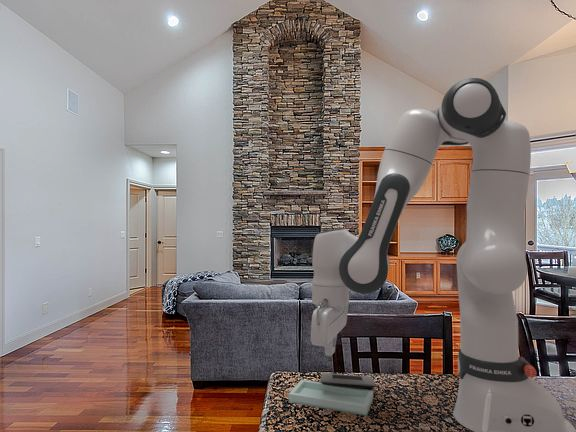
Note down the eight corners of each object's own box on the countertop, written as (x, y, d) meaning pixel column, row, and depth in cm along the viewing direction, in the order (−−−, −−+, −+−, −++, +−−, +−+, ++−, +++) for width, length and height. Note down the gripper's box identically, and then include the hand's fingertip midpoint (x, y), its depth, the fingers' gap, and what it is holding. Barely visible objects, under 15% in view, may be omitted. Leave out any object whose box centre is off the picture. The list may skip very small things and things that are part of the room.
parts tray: (373, 398, 94) (373, 390, 94) (366, 416, 86) (366, 406, 86) (301, 387, 101) (301, 379, 101) (288, 402, 92) (288, 393, 92)
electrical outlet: (371, 384, 104) (371, 375, 104) (375, 394, 94) (375, 383, 94) (321, 381, 105) (321, 371, 106) (320, 389, 95) (321, 379, 96)
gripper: (332, 305, 83) (331, 371, 83) (352, 290, 102) (351, 343, 102) (303, 303, 85) (303, 367, 85) (328, 288, 104) (328, 340, 104)
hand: (330, 353), depth 94 cm, fingers closed
